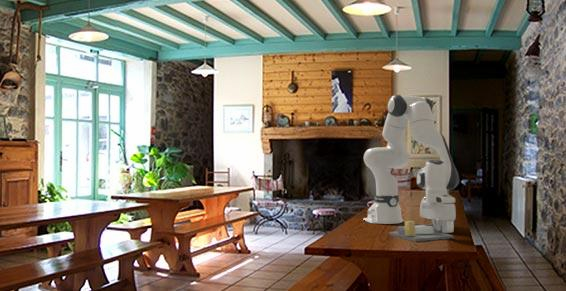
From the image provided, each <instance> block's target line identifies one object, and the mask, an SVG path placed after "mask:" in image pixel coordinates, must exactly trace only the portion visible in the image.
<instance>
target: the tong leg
mask: <svg viewBox="0 0 566 291" xmlns="http://www.w3.org/2000/svg"><path fill="white" fill-rule="evenodd" d="M440 228H441V230H434V226H417V225H415V234H442V226H440Z"/></svg>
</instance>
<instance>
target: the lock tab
mask: <svg viewBox="0 0 566 291" xmlns="http://www.w3.org/2000/svg"><path fill="white" fill-rule="evenodd" d="M404 226H405V235H406V236H415V226H416V222H415V220H414V221H413V220H404Z"/></svg>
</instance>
